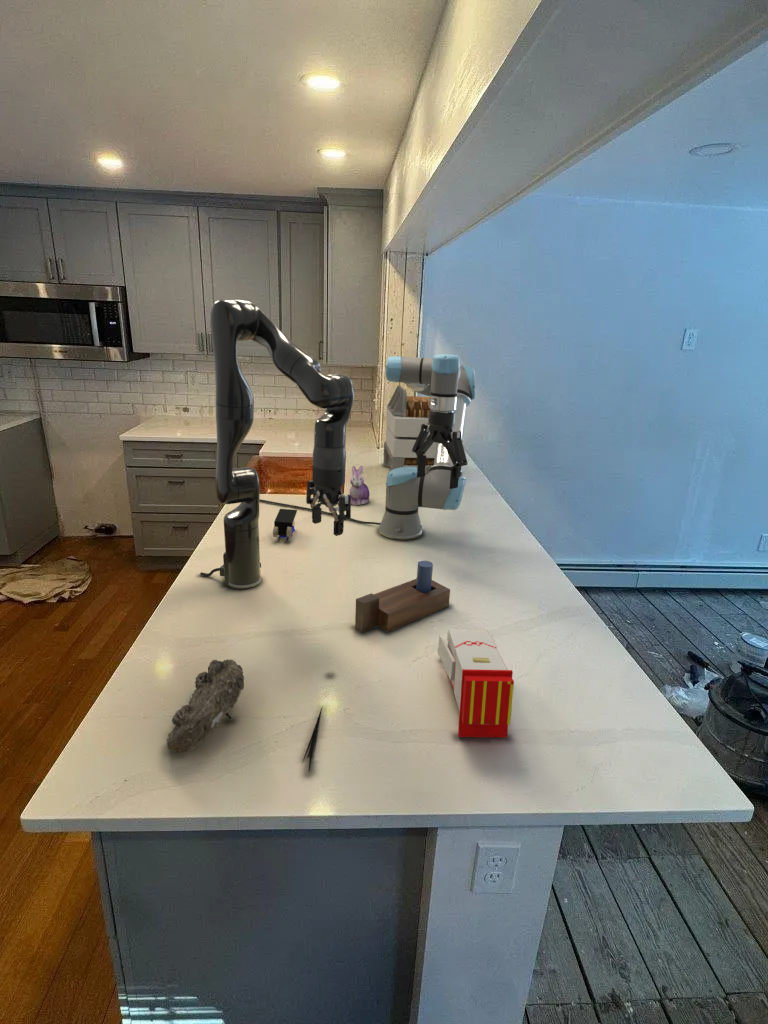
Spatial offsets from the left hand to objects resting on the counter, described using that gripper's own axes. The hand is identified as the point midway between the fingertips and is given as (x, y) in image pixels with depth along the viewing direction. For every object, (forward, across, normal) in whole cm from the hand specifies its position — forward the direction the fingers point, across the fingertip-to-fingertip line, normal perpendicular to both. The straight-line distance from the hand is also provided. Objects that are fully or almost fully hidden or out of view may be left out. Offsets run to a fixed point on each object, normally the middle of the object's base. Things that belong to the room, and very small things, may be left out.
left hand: (327, 528), depth 135 cm
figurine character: (+27, -52, +22) cm, 62 cm away
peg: (+24, +10, +25) cm, 36 cm away
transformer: (+28, -81, +117) cm, 145 cm away
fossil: (+24, +17, -39) cm, 48 cm away
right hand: (-2, -7, +46) cm, 46 cm away
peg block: (+24, +10, +17) cm, 31 cm away
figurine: (+27, -65, +65) cm, 96 cm away
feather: (+24, +30, -23) cm, 45 cm away
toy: (+23, +43, +6) cm, 49 cm away
